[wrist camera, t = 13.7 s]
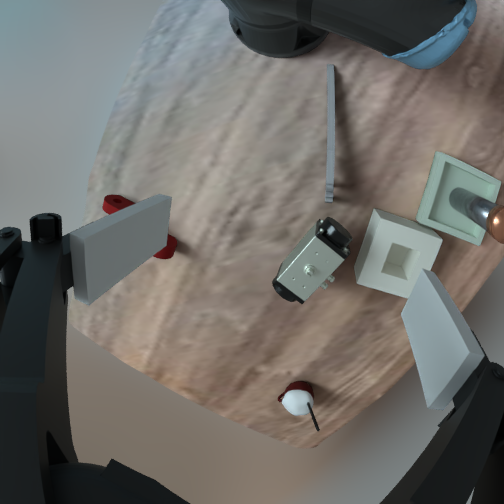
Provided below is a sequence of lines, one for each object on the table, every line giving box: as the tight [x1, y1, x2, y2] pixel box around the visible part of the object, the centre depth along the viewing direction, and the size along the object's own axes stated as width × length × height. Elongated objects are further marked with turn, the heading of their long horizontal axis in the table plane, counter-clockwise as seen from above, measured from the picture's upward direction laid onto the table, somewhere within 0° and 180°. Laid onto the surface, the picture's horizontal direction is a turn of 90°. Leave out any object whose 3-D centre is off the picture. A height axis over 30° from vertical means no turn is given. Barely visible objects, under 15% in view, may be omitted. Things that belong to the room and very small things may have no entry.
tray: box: [415, 151, 501, 246], centre depth 37 cm, size 11×12×2 cm
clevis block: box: [354, 208, 443, 298], centre depth 41 cm, size 10×10×6 cm
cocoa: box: [278, 381, 320, 431], centre depth 53 cm, size 10×6×12 cm, turn 91°
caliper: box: [325, 64, 335, 203], centre depth 38 cm, size 20×1×6 cm, turn 1°
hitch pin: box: [449, 187, 504, 244], centre depth 31 cm, size 4×4×15 cm
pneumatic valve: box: [272, 217, 353, 304], centre depth 41 cm, size 6×12×12 cm, turn 145°
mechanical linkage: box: [103, 195, 177, 259], centre depth 51 cm, size 16×7×5 cm, turn 67°
